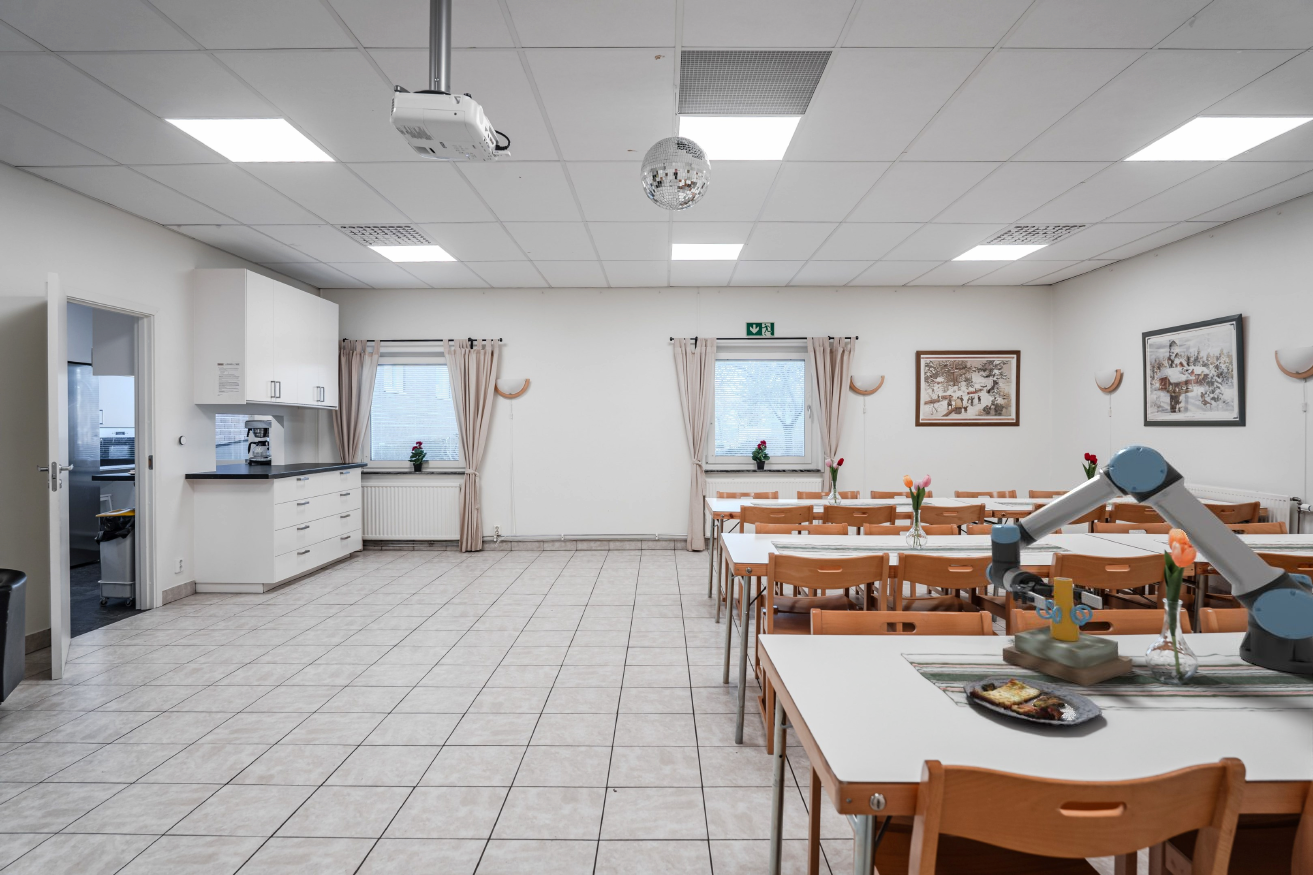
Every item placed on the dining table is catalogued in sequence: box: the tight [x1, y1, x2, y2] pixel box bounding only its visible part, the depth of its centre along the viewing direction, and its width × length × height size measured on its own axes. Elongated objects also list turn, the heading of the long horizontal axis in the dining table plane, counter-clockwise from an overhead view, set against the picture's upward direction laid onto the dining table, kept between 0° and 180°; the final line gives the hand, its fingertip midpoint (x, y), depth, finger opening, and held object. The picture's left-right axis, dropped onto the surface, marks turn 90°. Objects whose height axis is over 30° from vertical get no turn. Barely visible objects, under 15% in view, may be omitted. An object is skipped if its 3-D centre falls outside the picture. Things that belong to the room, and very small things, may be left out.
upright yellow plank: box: [1035, 576, 1094, 641], centre depth 152 cm, size 12×10×15 cm
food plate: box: [962, 675, 1103, 727], centre depth 128 cm, size 25×23×4 cm
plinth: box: [1002, 625, 1133, 687], centre depth 152 cm, size 20×20×7 cm
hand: (1072, 603), depth 149 cm, fingers open, 13 cm apart
